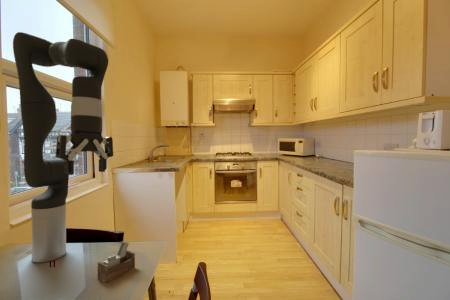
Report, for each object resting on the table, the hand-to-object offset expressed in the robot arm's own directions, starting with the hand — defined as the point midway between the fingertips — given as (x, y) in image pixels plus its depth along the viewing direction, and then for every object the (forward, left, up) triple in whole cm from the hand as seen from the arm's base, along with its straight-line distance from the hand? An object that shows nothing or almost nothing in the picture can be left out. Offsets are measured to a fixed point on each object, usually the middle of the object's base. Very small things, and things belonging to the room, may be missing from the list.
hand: (86, 173), depth 64 cm
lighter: (+4, +7, -30) cm, 31 cm away
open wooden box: (+3, +7, -30) cm, 31 cm away
